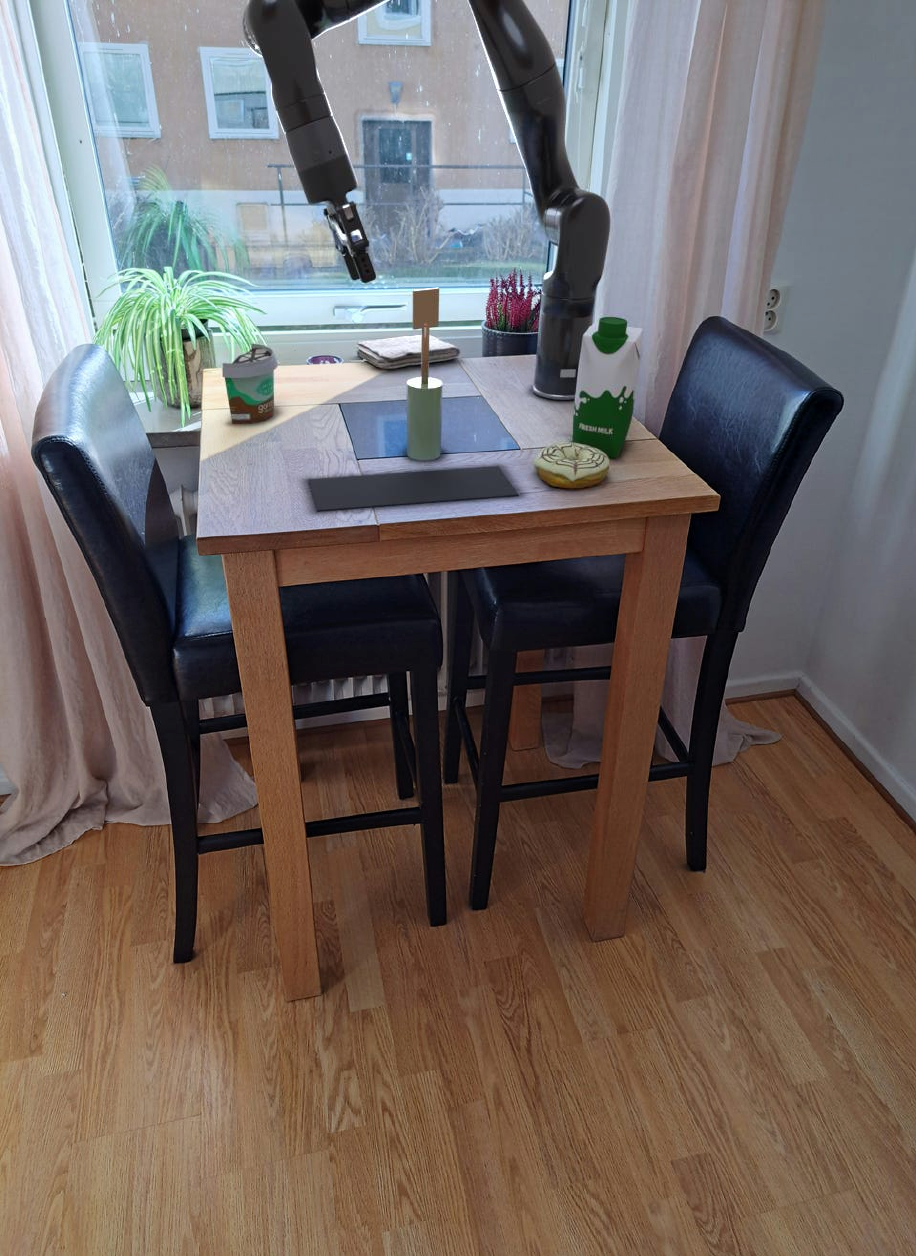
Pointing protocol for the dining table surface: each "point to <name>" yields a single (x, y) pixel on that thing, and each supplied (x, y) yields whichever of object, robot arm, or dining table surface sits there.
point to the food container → (251, 385)
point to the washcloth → (404, 351)
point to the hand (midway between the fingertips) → (364, 280)
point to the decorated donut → (571, 465)
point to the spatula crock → (424, 385)
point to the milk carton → (607, 384)
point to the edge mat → (410, 488)
